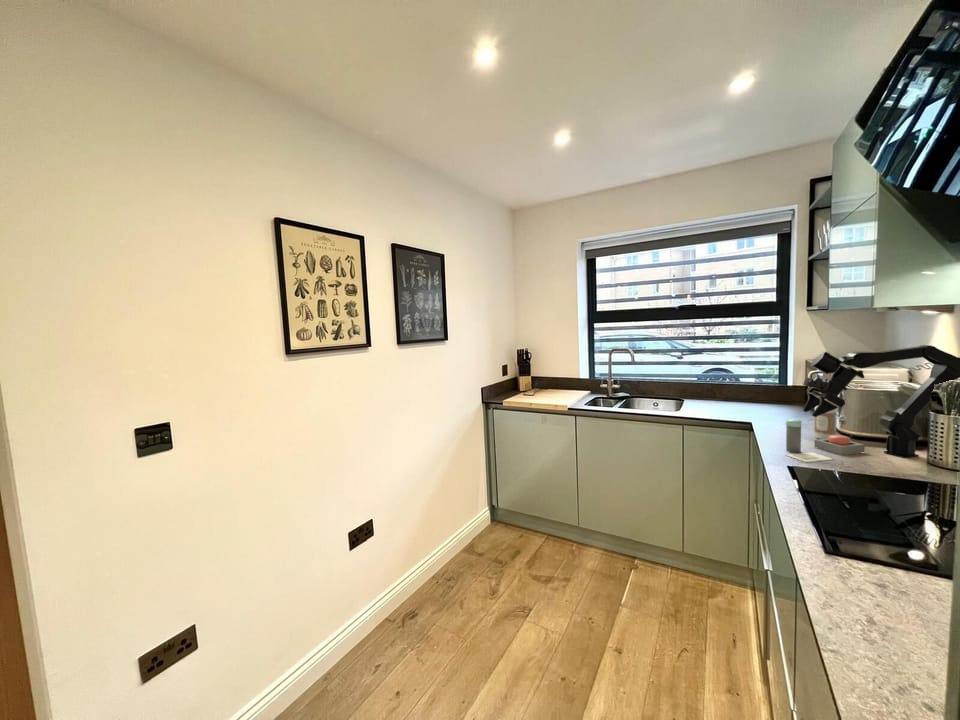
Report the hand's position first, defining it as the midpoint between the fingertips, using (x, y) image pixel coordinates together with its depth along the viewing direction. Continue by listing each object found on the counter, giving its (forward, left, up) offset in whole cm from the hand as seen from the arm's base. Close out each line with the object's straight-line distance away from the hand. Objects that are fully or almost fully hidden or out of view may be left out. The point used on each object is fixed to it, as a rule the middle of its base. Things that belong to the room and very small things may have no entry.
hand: (808, 413), depth 152 cm
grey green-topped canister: (-1, +7, -14) cm, 16 cm away
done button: (-4, -9, -12) cm, 16 cm away
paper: (-8, +9, -14) cm, 19 cm away
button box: (-4, -9, -14) cm, 17 cm away
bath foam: (+10, -19, -14) cm, 26 cm away
